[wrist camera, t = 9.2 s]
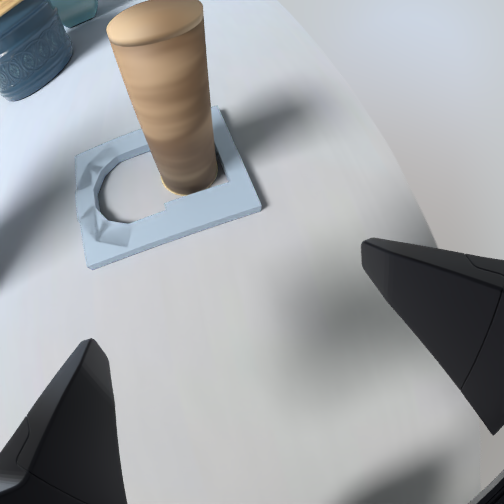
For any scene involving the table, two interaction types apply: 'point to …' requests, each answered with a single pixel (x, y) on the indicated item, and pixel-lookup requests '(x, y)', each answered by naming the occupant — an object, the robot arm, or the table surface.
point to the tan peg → (169, 87)
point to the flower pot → (75, 11)
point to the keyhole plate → (177, 211)
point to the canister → (30, 46)
